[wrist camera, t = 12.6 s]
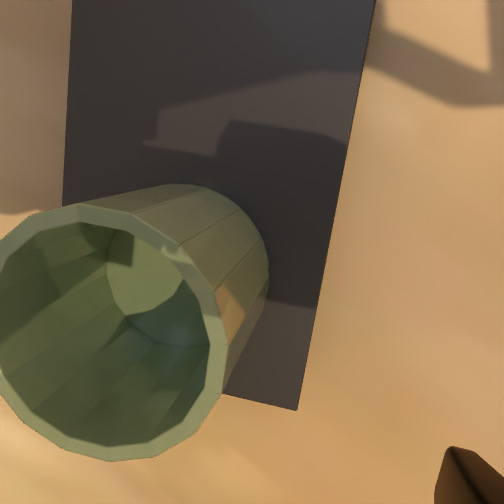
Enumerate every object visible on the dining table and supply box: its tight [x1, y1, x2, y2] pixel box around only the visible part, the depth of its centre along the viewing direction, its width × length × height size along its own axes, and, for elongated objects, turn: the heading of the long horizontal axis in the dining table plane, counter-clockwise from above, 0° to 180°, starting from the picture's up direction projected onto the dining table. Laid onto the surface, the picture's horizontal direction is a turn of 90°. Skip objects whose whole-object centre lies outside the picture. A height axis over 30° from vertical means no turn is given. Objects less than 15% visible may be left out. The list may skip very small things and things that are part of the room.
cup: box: [0, 183, 270, 462], centre depth 15 cm, size 7×7×7 cm
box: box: [62, 0, 376, 411], centre depth 19 cm, size 11×17×3 cm, turn 171°
